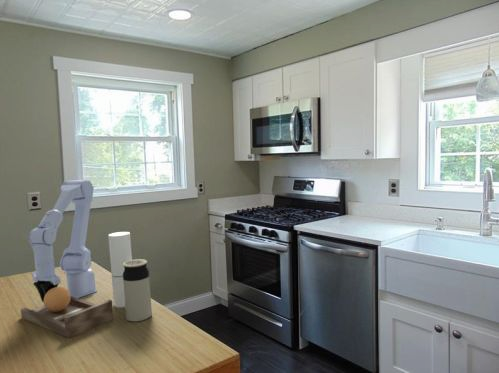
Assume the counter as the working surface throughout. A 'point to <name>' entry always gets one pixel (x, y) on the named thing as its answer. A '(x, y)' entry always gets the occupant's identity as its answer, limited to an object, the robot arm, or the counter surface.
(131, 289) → the travel mug
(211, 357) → the counter surface
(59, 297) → the ball
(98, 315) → the tray
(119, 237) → the cylindrical container
